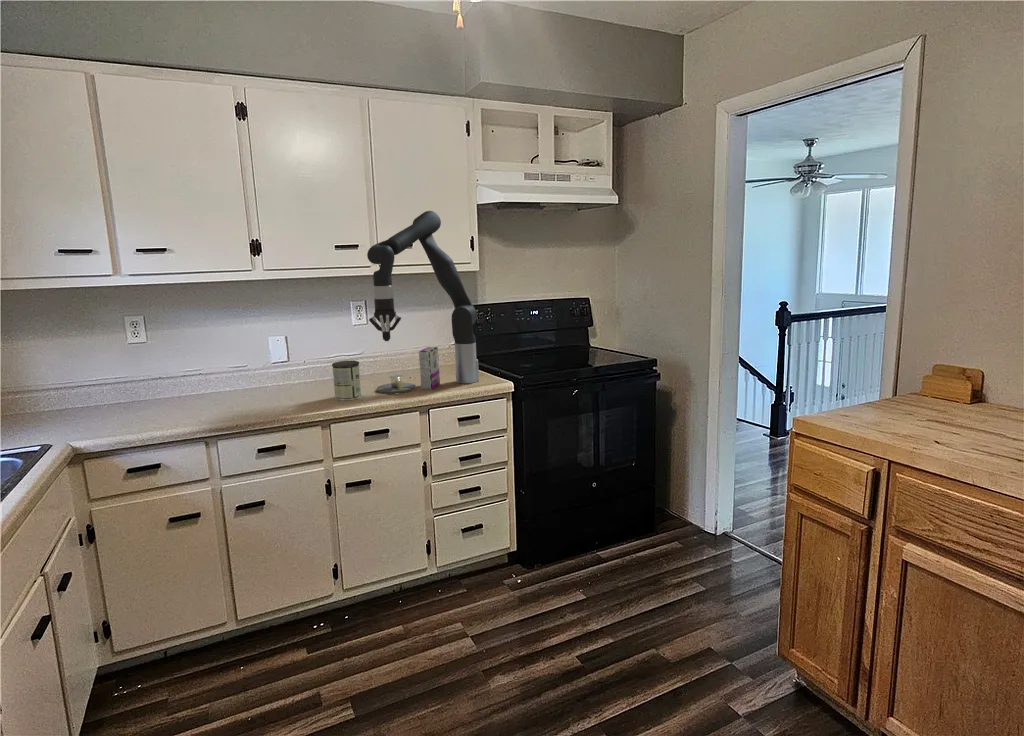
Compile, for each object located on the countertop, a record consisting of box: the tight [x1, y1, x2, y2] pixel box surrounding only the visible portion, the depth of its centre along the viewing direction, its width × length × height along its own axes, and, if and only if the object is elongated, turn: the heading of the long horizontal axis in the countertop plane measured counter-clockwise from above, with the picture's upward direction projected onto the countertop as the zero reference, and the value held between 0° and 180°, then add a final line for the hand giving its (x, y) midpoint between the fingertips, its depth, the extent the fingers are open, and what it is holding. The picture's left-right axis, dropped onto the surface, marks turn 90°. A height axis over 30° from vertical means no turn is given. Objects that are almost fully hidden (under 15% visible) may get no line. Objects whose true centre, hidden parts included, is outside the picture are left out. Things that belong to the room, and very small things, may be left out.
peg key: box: [388, 373, 404, 389], centre depth 243 cm, size 12×5×5 cm, turn 23°
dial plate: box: [376, 382, 416, 395], centre depth 247 cm, size 16×16×1 cm
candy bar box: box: [418, 346, 441, 391], centre depth 249 cm, size 11×5×16 cm, turn 168°
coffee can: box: [331, 360, 362, 402], centre depth 234 cm, size 10×10×14 cm
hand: (386, 340), depth 235 cm, fingers closed
